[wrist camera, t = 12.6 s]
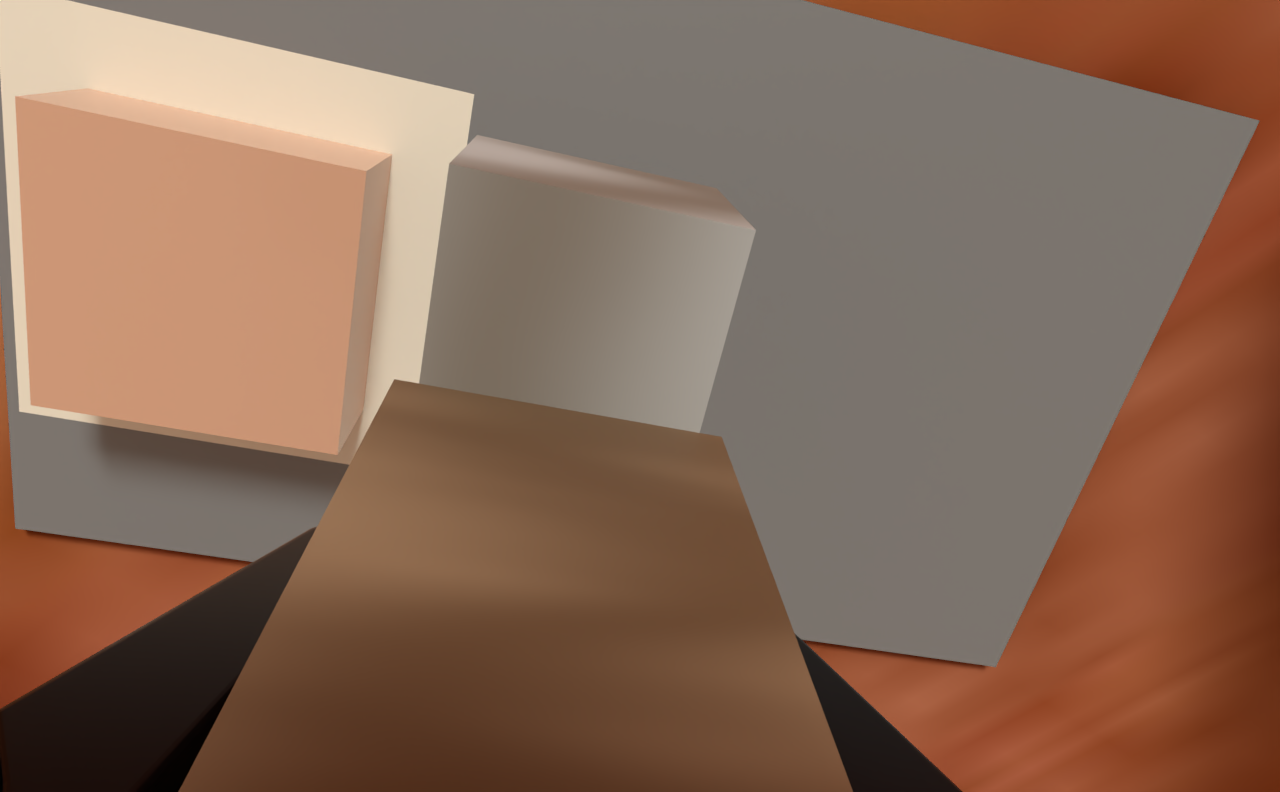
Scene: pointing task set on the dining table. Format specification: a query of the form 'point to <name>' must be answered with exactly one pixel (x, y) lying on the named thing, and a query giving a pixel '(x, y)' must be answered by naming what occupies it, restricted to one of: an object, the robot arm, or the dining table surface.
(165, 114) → the tile
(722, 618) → the wood block grey top
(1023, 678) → the dining table surface
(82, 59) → the board
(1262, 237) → the dining table surface
